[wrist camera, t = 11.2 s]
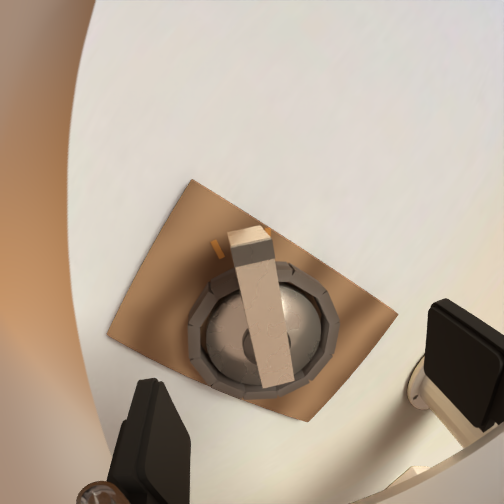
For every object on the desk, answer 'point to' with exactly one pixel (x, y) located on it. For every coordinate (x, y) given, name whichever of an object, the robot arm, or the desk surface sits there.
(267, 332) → the dial
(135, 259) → the desk surface
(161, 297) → the dial base
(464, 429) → the robot arm
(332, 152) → the desk surface
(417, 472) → the medicine bottle
